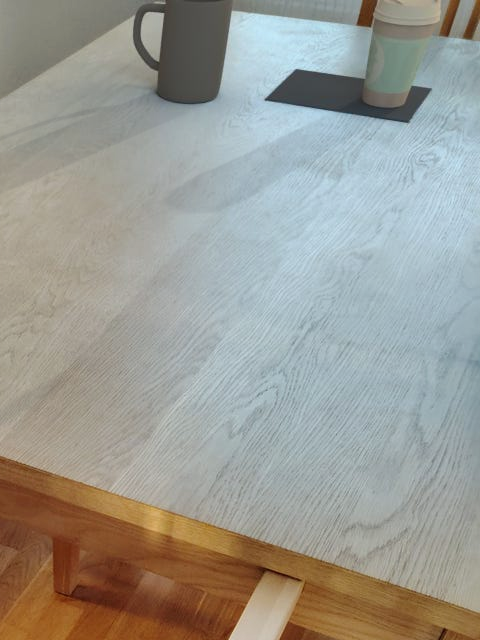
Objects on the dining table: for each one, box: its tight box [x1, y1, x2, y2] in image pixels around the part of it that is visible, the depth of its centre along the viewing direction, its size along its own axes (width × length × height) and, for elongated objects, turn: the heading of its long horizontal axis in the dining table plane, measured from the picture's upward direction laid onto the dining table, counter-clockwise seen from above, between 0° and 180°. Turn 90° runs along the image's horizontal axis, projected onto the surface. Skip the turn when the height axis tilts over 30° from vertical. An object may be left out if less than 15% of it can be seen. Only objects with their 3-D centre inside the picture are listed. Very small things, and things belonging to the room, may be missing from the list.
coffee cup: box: [362, 0, 442, 108], centre depth 122 cm, size 8×8×12 cm
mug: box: [132, 0, 234, 104], centre depth 126 cm, size 14×9×12 cm
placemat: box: [264, 68, 433, 123], centre depth 128 cm, size 20×15×1 cm
